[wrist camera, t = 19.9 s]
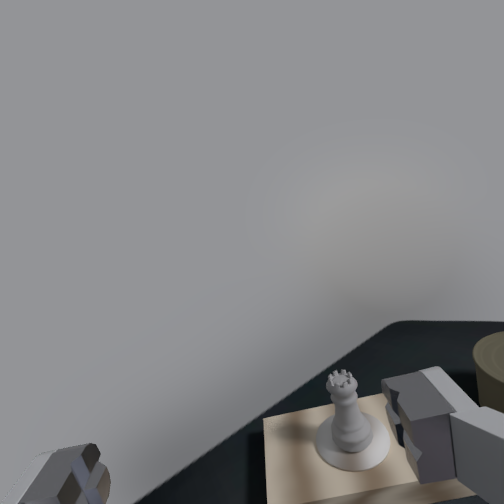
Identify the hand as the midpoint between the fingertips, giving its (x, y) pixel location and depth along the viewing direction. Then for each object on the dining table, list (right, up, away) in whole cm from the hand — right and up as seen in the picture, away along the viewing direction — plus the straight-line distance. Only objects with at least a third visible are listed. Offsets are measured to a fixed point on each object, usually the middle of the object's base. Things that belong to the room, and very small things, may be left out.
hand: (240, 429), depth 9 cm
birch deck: (+12, -19, +29) cm, 36 cm away
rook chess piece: (+12, -16, +28) cm, 34 cm away
